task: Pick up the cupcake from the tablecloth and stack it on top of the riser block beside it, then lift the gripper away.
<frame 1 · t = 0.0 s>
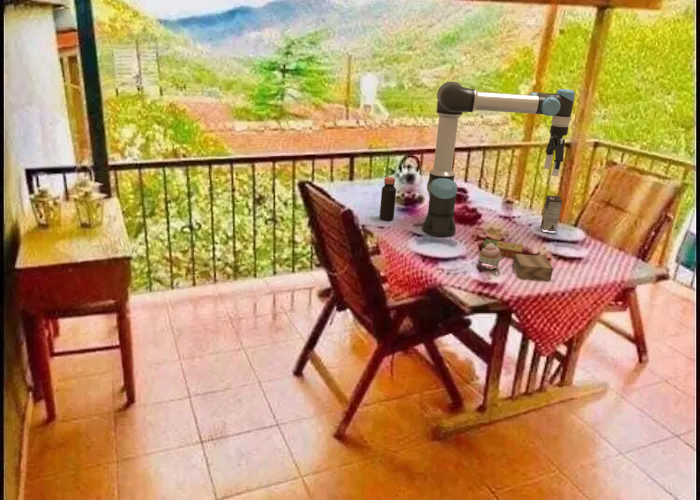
hand: (550, 172, 259), 28 cm above the table, tool pointing down, fingers open, 13 cm apart
coffee box: (547, 230, 269), on the table
carton: (501, 254, 239), on the table
riser: (531, 272, 221), on the table
bottle: (386, 219, 271), on the table
cupcake: (488, 266, 224), on the table
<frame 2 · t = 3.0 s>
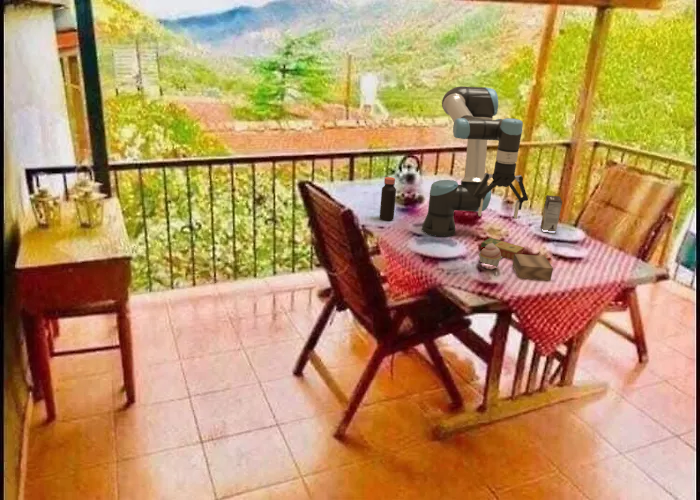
hand: (497, 216, 216), 21 cm above the table, tool pointing down, fingers open, 13 cm apart
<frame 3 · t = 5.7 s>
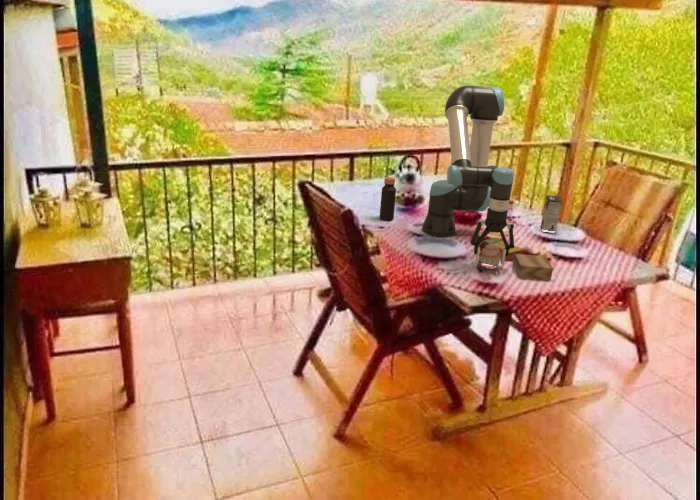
hand: (489, 262, 223), 2 cm above the table, tool pointing down, fingers closed on cupcake, 9 cm apart
cupcake: (488, 266, 224), on the table, touching gripper
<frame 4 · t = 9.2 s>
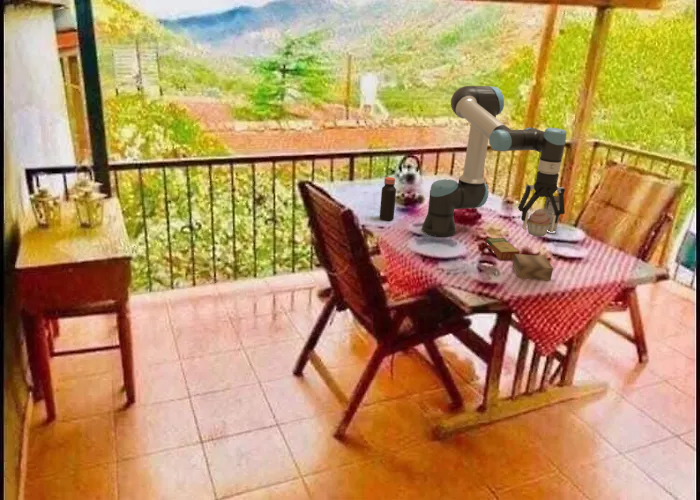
hand: (537, 229, 214), 18 cm above the table, tool pointing down, fingers closed on cupcake, 9 cm apart
cupcake: (536, 234, 214), point 16 cm above the table, touching gripper
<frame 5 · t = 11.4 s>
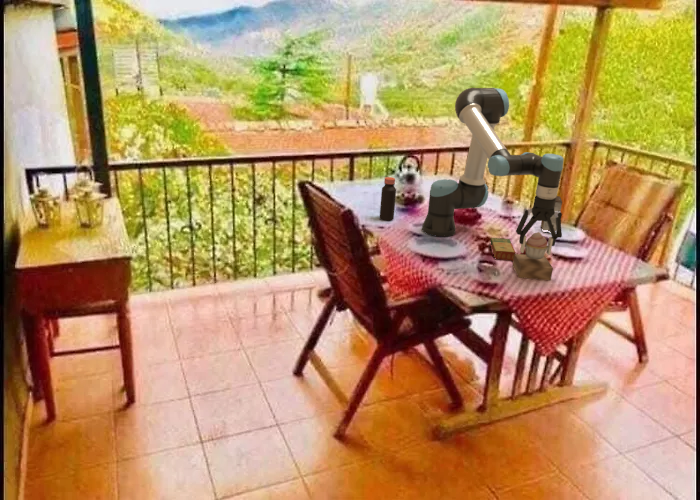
hand: (534, 252, 217), 8 cm above the table, tool pointing down, fingers closed on cupcake, 9 cm apart
cupcake: (534, 256, 218), point 7 cm above the table, touching gripper
when the fingers open (8 cm above the table, at t = 12.8 s): cupcake drops 1 cm, resting on riser.
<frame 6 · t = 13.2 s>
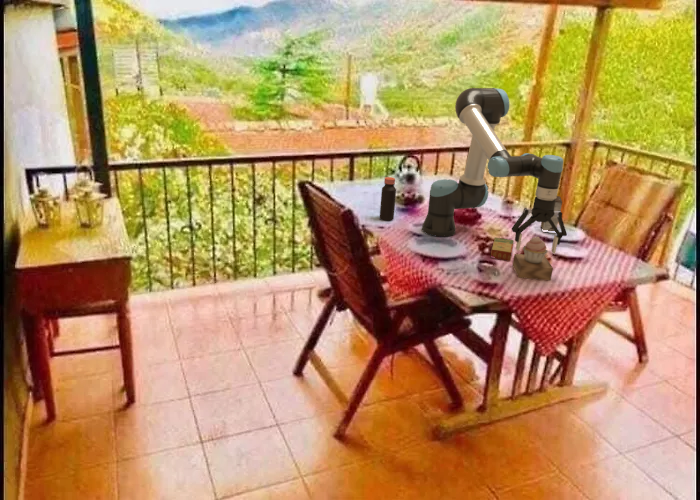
hand: (535, 250, 217), 9 cm above the table, tool pointing down, fingers open, 13 cm apart
cupcake: (532, 261, 219), point 5 cm above the table, touching riser
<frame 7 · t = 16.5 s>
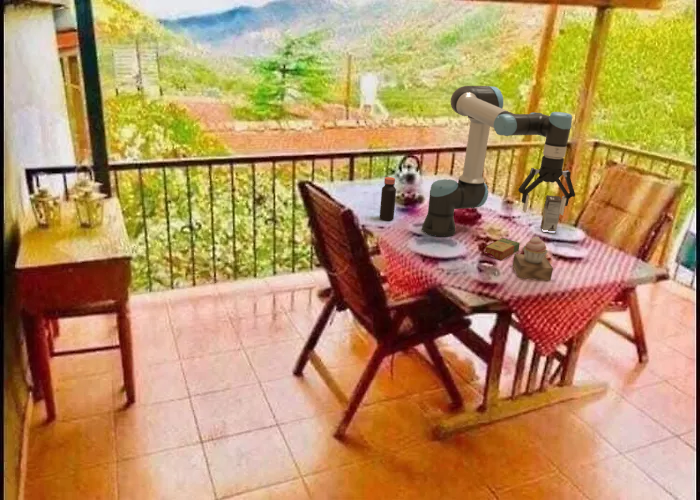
hand: (542, 212, 211), 25 cm above the table, tool pointing down, fingers open, 13 cm apart
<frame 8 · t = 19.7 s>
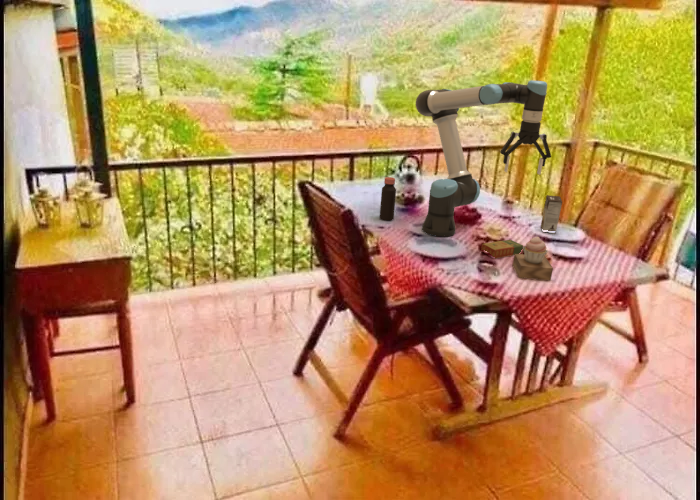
hand: (522, 172, 234), 33 cm above the table, tool pointing down, fingers open, 13 cm apart
at the end: cupcake inside the target area on the riser (0.1 cm from its centre), point 4.8 cm above the riser's base; cupcake tilted 0°; the gripper is holding nothing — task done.
